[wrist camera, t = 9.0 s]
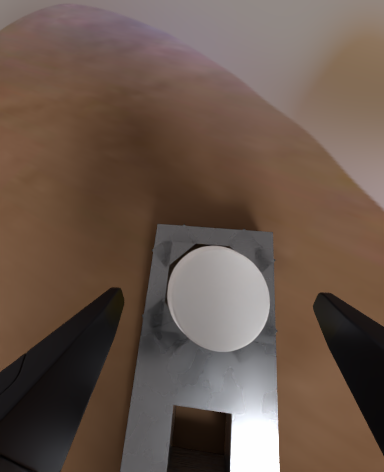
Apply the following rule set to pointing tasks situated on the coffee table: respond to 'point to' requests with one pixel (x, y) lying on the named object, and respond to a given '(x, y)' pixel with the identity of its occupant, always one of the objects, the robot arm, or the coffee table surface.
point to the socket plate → (202, 370)
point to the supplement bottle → (218, 298)
